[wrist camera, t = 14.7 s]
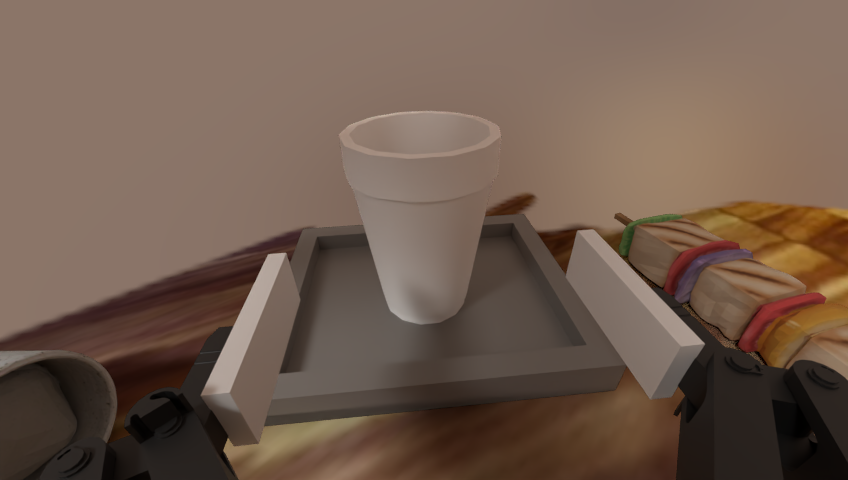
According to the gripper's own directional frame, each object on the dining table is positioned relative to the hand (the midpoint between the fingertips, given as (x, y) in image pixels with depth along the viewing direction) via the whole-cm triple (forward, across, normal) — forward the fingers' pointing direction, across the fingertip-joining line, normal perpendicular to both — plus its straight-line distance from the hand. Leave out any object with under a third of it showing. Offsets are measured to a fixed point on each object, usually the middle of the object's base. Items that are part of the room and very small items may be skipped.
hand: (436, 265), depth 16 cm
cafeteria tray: (+8, 0, -10) cm, 13 cm away
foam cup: (+8, 0, -9) cm, 12 cm away
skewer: (+6, +22, -10) cm, 25 cm away
